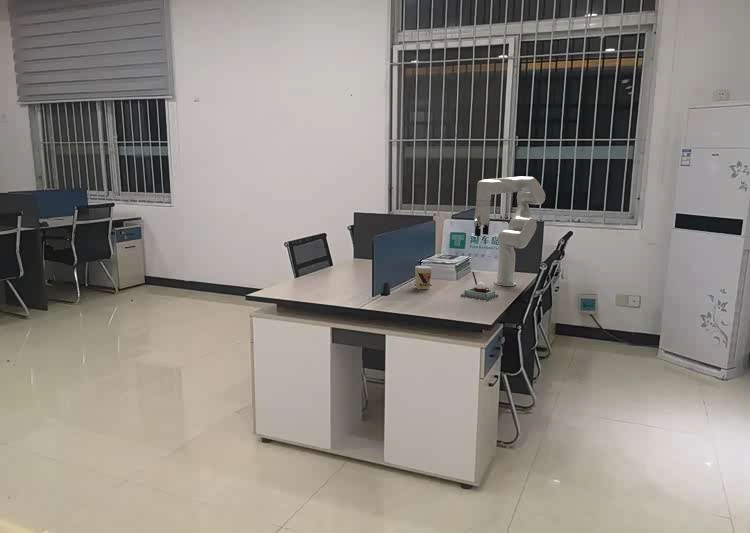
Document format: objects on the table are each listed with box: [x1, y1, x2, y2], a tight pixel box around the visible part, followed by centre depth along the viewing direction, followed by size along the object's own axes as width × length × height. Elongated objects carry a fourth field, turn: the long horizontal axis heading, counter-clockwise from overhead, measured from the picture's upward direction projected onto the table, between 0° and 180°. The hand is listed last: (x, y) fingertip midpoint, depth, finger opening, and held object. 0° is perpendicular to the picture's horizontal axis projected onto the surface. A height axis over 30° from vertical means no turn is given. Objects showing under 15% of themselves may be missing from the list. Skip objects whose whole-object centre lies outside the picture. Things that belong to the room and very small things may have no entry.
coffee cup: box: [414, 265, 433, 290], centre depth 319 cm, size 9×9×12 cm
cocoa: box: [471, 271, 490, 293], centre depth 302 cm, size 10×6×12 cm, turn 79°
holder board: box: [460, 286, 500, 301], centre depth 303 cm, size 14×15×3 cm
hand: (481, 235), depth 315 cm, fingers open, 9 cm apart
